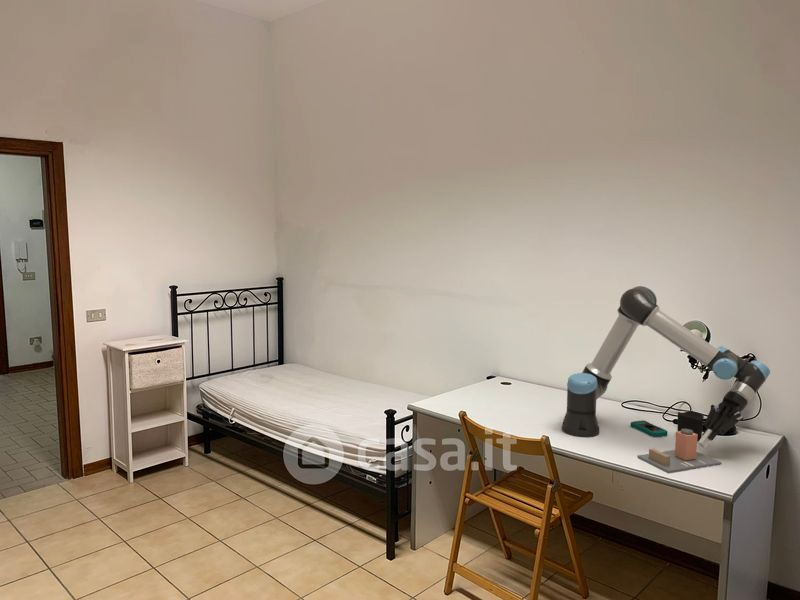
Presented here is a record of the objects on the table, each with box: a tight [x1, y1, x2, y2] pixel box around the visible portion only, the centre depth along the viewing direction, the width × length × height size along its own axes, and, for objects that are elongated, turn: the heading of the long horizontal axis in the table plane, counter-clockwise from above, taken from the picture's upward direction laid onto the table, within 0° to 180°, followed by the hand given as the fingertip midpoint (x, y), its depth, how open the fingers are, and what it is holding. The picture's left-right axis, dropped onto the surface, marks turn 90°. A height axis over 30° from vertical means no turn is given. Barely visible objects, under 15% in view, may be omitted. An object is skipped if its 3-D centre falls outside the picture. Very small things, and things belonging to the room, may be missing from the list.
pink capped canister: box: [674, 429, 698, 460], centre depth 211 cm, size 5×5×10 cm
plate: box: [636, 448, 722, 474], centre depth 210 cm, size 24×15×4 cm, turn 109°
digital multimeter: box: [630, 420, 669, 438], centre depth 243 cm, size 7×15×3 cm, turn 17°
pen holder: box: [676, 410, 705, 442], centre depth 234 cm, size 9×9×10 cm
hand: (701, 445), depth 213 cm, fingers closed
